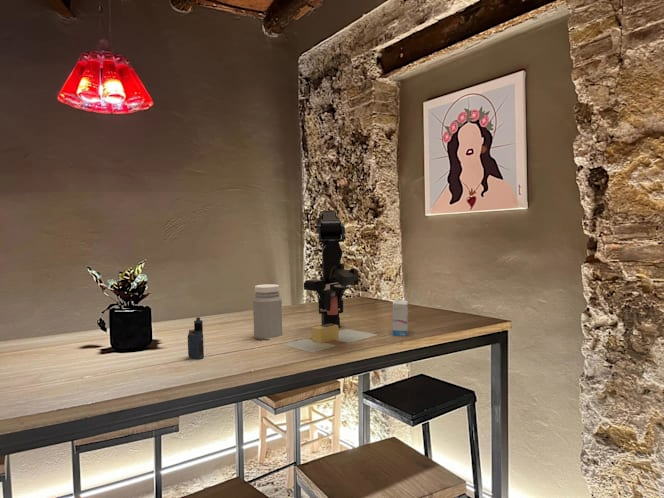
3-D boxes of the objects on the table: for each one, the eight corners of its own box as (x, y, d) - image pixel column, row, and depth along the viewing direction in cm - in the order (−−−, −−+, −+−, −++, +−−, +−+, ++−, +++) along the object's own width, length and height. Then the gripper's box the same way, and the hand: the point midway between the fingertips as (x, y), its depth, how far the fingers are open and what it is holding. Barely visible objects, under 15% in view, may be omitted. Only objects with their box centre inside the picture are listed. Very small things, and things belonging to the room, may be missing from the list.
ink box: (407, 339, 159) (406, 303, 158) (392, 338, 160) (391, 303, 159) (408, 333, 167) (408, 299, 167) (394, 333, 168) (393, 299, 168)
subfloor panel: (280, 347, 151) (280, 344, 151) (347, 331, 172) (347, 329, 172) (311, 355, 141) (311, 352, 141) (378, 337, 162) (378, 334, 161)
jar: (288, 336, 166) (287, 285, 165) (266, 342, 159) (264, 288, 158) (270, 333, 172) (268, 283, 172) (248, 338, 165) (246, 286, 164)
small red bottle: (325, 314, 150) (324, 291, 150) (332, 312, 152) (332, 290, 152) (332, 315, 148) (331, 292, 147) (339, 313, 150) (339, 291, 150)
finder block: (312, 341, 154) (311, 326, 154) (330, 337, 160) (329, 322, 159) (320, 343, 151) (320, 328, 151) (338, 338, 157) (338, 324, 157)
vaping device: (199, 360, 138) (197, 318, 138) (186, 357, 141) (185, 317, 141) (205, 357, 141) (204, 317, 140) (193, 355, 143) (192, 315, 143)
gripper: (327, 264, 137) (328, 318, 138) (371, 259, 150) (371, 309, 151) (301, 262, 145) (303, 313, 146) (345, 257, 158) (346, 304, 159)
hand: (332, 310), depth 150 cm, fingers closed on small red bottle, 3 cm apart
